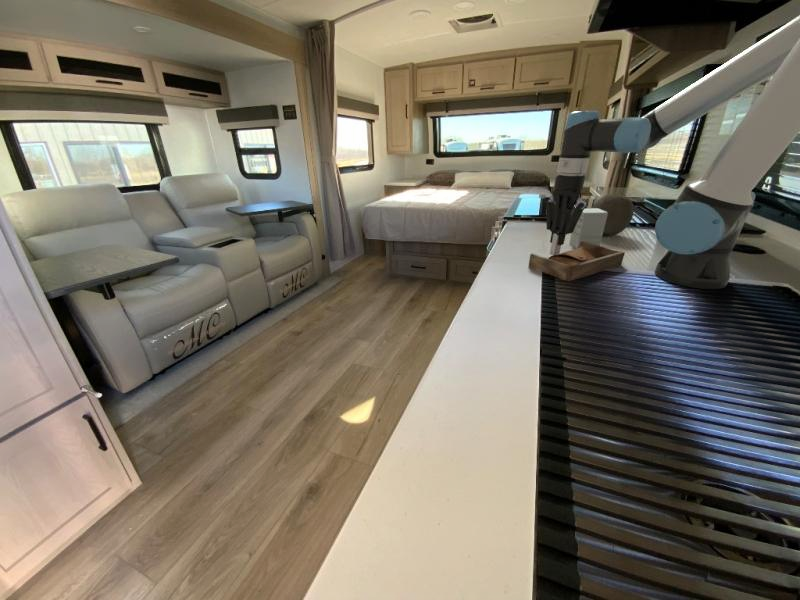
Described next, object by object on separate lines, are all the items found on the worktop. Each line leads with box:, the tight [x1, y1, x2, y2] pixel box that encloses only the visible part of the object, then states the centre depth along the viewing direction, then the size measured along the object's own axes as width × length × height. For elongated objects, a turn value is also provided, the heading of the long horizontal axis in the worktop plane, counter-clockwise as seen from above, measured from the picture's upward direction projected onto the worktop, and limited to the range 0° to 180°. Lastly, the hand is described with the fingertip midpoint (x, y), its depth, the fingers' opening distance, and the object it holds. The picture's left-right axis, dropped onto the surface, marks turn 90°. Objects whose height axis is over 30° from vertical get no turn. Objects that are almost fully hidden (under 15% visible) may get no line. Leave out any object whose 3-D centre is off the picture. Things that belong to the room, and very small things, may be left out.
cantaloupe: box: [591, 193, 635, 237], centre depth 124 cm, size 14×14×15 cm
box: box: [528, 241, 626, 283], centre depth 98 cm, size 14×24×4 cm, turn 119°
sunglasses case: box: [548, 247, 596, 266], centre depth 99 cm, size 18×7×7 cm, turn 124°
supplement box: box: [569, 207, 608, 249], centre depth 112 cm, size 7×7×13 cm
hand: (554, 254), depth 103 cm, fingers closed
